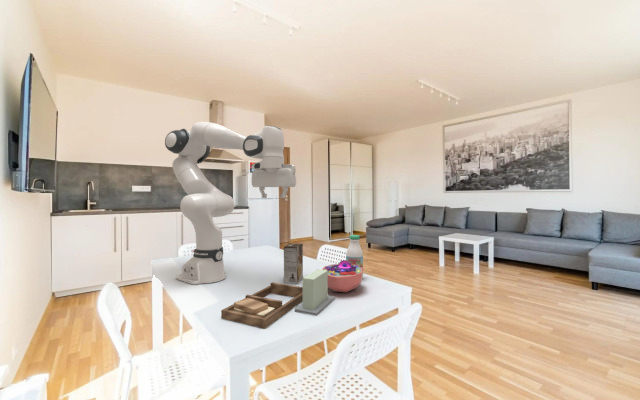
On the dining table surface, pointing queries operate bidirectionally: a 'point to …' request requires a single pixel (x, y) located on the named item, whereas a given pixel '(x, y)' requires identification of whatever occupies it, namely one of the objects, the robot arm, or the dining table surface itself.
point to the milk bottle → (355, 252)
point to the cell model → (344, 276)
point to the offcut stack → (253, 307)
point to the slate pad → (318, 308)
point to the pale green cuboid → (315, 289)
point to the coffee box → (293, 263)
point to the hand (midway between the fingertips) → (273, 198)
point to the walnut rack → (277, 304)
